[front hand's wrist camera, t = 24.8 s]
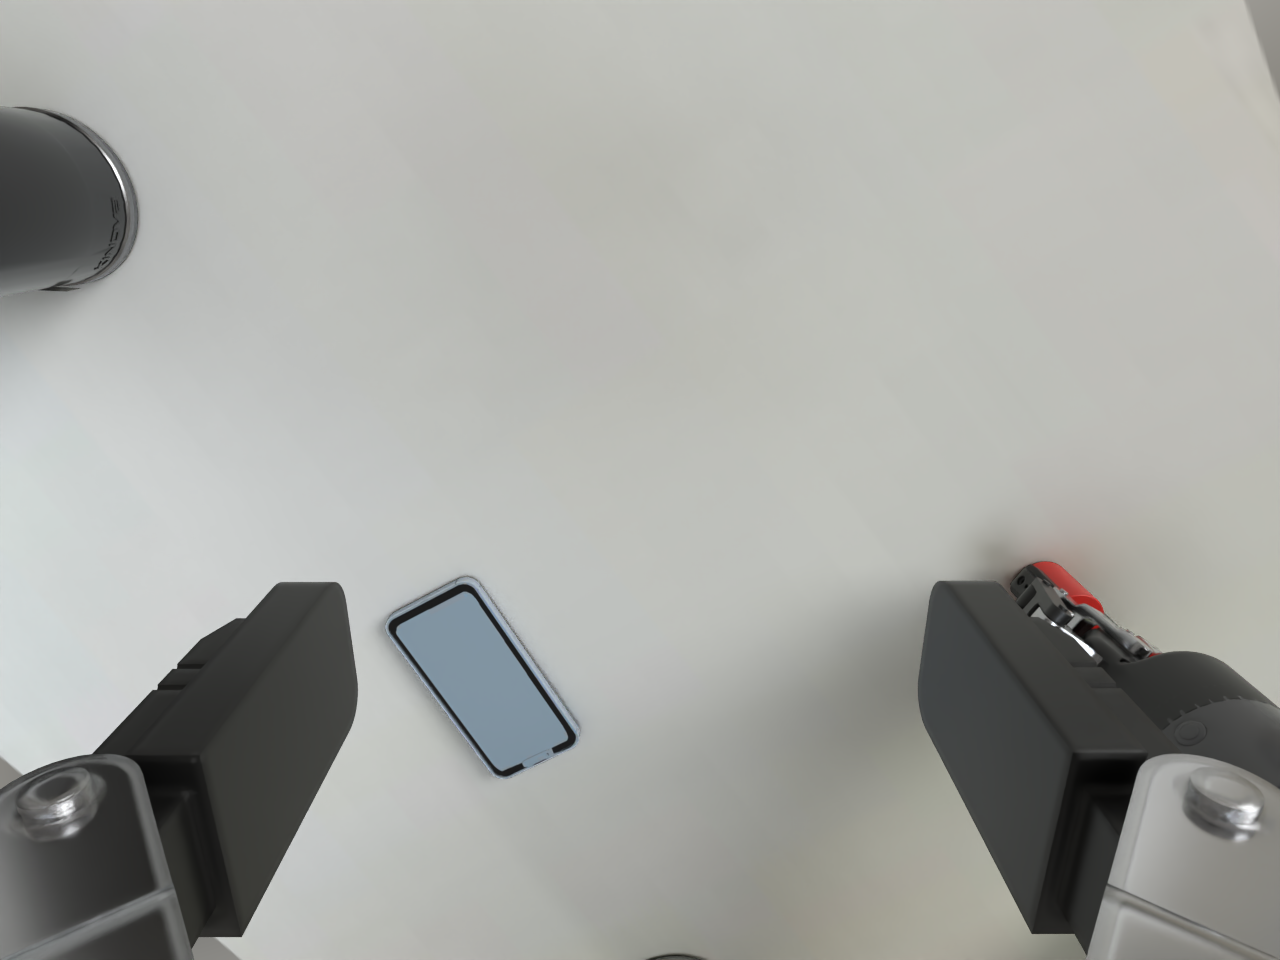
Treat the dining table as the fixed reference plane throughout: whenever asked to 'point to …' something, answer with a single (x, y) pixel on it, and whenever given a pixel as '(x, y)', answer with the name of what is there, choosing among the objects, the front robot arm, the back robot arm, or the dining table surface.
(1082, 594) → the canister
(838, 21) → the dining table surface
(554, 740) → the smartphone
